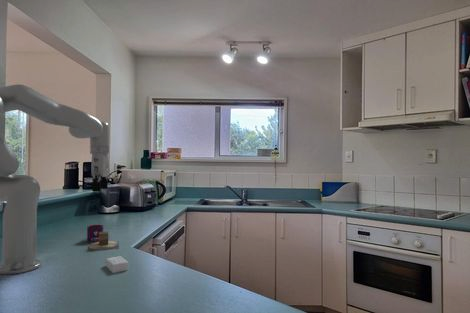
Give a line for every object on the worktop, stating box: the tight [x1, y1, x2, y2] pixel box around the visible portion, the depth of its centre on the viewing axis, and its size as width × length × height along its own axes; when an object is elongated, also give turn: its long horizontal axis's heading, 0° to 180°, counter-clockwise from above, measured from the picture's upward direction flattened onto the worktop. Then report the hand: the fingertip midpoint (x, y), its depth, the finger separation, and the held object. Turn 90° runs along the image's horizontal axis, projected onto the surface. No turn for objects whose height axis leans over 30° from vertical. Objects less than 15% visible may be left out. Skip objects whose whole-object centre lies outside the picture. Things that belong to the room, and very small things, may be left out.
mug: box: [86, 224, 104, 243], centre depth 144 cm, size 7×10×7 cm
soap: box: [105, 255, 130, 274], centre depth 107 cm, size 9×6×3 cm, turn 37°
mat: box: [86, 241, 120, 253], centre depth 132 cm, size 12×12×1 cm
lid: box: [88, 230, 118, 251], centre depth 133 cm, size 11×11×6 cm
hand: (100, 190), depth 135 cm, fingers open, 9 cm apart
